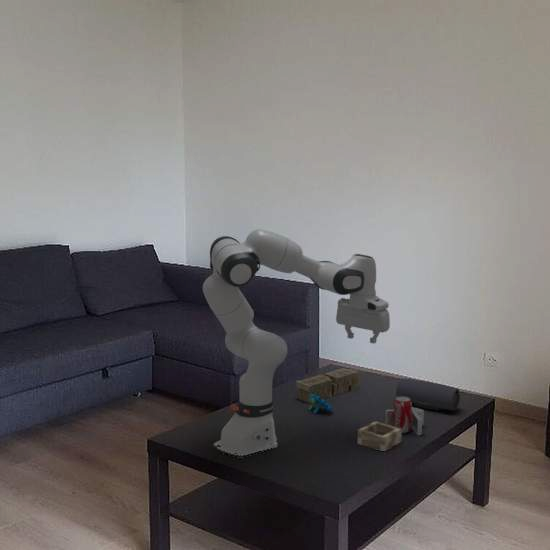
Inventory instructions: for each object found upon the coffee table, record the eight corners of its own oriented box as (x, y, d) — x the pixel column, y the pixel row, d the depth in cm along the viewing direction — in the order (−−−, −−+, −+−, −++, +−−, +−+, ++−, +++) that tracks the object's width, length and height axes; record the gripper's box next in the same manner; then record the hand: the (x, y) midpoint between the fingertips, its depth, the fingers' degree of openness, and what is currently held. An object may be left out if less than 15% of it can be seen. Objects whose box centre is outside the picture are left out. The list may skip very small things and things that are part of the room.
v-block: (419, 437, 251) (420, 420, 250) (383, 426, 261) (384, 410, 260) (434, 429, 259) (434, 413, 258) (398, 418, 268) (399, 403, 267)
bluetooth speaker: (459, 409, 279) (461, 384, 277) (451, 416, 271) (452, 391, 269) (404, 398, 291) (405, 374, 289) (395, 404, 283) (395, 380, 282)
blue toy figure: (338, 410, 273) (321, 394, 269) (330, 423, 271) (312, 407, 267) (323, 405, 282) (306, 390, 279) (314, 417, 281) (297, 402, 277)
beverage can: (410, 435, 253) (412, 402, 251) (392, 433, 254) (393, 401, 252) (410, 428, 259) (412, 396, 257) (393, 427, 260) (394, 395, 258)
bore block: (384, 452, 239) (384, 437, 238) (357, 443, 246) (357, 429, 245) (401, 442, 247) (401, 428, 246) (375, 434, 253) (375, 421, 253)
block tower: (344, 386, 309) (294, 400, 289) (345, 367, 307) (295, 379, 288) (358, 391, 303) (308, 405, 283) (359, 371, 302) (309, 384, 282)
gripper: (332, 298, 253) (332, 337, 255) (382, 306, 239) (381, 347, 242) (343, 295, 257) (342, 333, 260) (392, 303, 244) (391, 343, 246)
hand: (361, 340), depth 251 cm, fingers open, 8 cm apart
